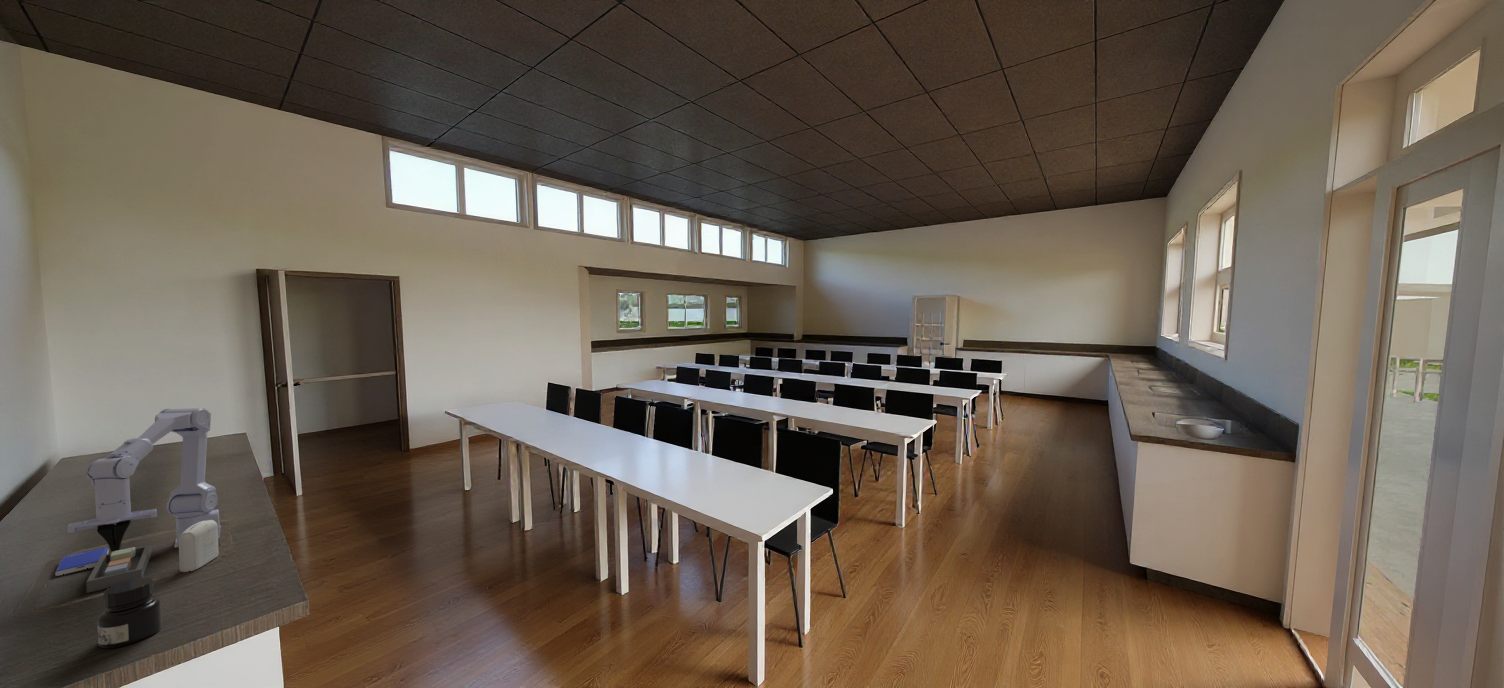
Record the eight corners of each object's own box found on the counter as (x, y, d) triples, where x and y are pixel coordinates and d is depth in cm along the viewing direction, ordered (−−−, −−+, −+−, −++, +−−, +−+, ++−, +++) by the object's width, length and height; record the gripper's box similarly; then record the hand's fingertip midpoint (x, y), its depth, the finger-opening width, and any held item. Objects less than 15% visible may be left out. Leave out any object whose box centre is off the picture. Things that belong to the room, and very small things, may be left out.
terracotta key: (131, 566, 137) (130, 557, 137) (129, 570, 135) (128, 561, 135) (110, 571, 134) (109, 561, 134) (108, 575, 132) (107, 566, 132)
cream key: (135, 555, 143) (135, 546, 143) (134, 559, 141) (133, 550, 141) (116, 559, 141) (115, 550, 141) (113, 564, 138) (113, 555, 138)
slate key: (128, 572, 134) (128, 562, 134) (126, 576, 132) (126, 567, 131) (107, 577, 131) (106, 567, 131) (105, 581, 129) (104, 572, 129)
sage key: (133, 556, 140) (132, 547, 140) (131, 560, 138) (131, 551, 138) (113, 560, 138) (112, 551, 137) (110, 565, 135) (110, 556, 135)
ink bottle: (90, 643, 106) (87, 591, 106) (150, 620, 115) (148, 572, 114) (109, 654, 103) (107, 600, 102) (170, 630, 111) (168, 580, 111)
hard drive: (62, 556, 141) (55, 571, 133) (108, 546, 147) (104, 559, 139) (62, 561, 141) (55, 576, 133) (108, 551, 147) (104, 564, 139)
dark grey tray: (151, 554, 147) (150, 544, 146) (142, 579, 132) (141, 569, 132) (102, 565, 140) (101, 555, 140) (86, 592, 126) (86, 581, 126)
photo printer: (203, 557, 145) (201, 517, 145) (221, 555, 147) (220, 515, 146) (176, 574, 136) (174, 531, 135) (196, 571, 137) (194, 529, 136)
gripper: (63, 512, 122) (66, 564, 123) (153, 498, 133) (156, 545, 134) (70, 505, 127) (72, 555, 128) (156, 491, 138) (158, 537, 139)
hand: (115, 549), depth 131 cm, fingers closed
